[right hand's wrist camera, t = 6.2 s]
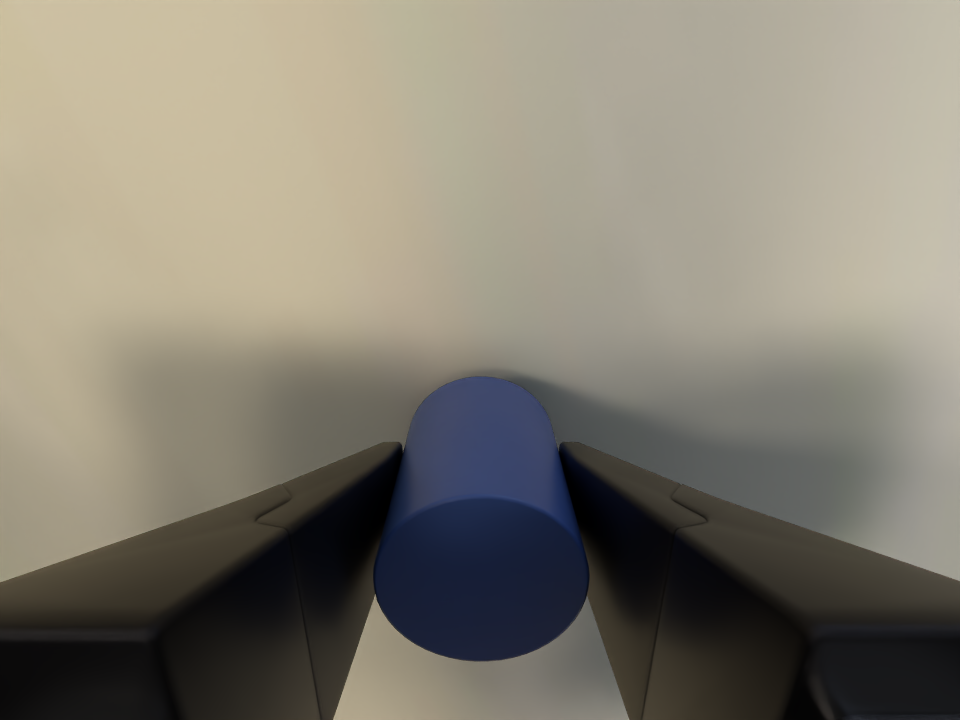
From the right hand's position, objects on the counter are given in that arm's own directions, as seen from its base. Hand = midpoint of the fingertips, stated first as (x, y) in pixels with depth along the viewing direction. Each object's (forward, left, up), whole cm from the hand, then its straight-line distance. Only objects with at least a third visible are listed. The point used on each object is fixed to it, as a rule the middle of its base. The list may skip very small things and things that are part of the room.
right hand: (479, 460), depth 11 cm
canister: (0, 0, -1) cm, 1 cm away
